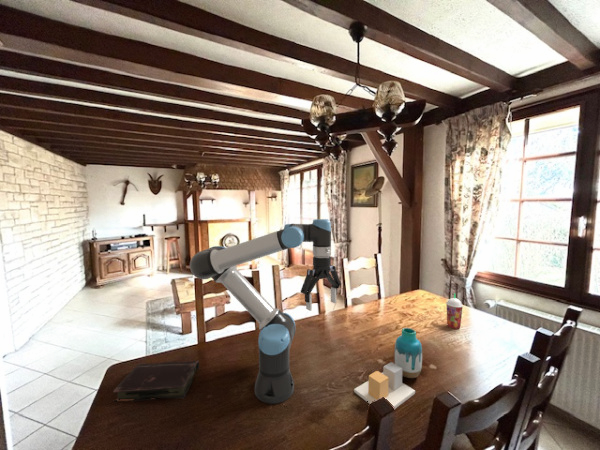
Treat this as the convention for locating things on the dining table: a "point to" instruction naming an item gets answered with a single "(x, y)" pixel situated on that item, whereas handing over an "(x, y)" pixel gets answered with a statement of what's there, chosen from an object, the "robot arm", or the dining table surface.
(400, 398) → the plate
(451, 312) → the smoothie
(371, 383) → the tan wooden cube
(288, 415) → the dining table surface
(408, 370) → the vase
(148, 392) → the diary
